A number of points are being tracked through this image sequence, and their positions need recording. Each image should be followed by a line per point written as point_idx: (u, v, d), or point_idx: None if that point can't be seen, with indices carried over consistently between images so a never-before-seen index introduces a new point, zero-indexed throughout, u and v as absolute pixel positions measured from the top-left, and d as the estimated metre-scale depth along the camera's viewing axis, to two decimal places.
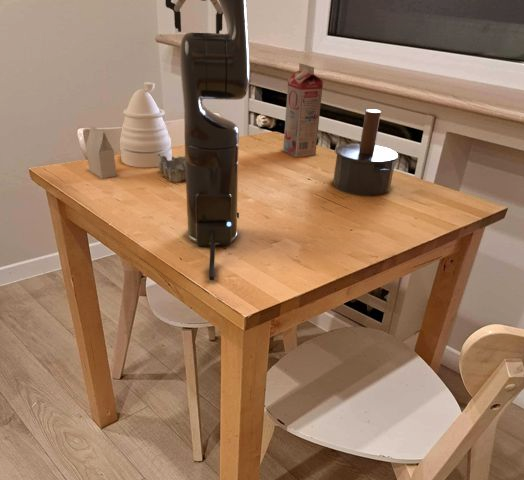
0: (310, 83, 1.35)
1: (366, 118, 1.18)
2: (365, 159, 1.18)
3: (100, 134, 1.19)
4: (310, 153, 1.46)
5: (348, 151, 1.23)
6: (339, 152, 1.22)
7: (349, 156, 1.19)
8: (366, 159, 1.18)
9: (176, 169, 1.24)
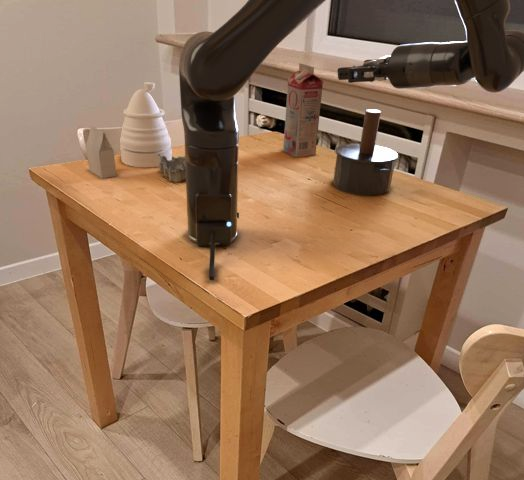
0: (310, 83, 1.35)
1: (366, 118, 1.18)
2: (365, 159, 1.18)
3: (100, 134, 1.19)
4: (310, 153, 1.46)
5: (348, 151, 1.23)
6: (339, 152, 1.22)
7: (349, 156, 1.19)
8: (366, 159, 1.18)
9: (176, 169, 1.24)
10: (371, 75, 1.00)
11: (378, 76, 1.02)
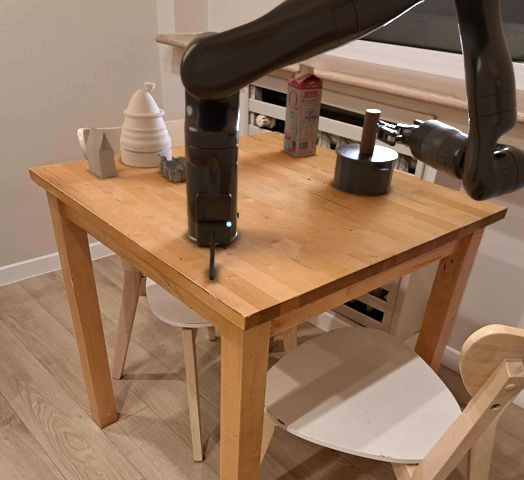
0: (310, 83, 1.35)
1: (366, 118, 1.18)
2: (365, 159, 1.18)
3: (100, 134, 1.19)
4: (310, 153, 1.46)
5: (348, 151, 1.23)
6: (339, 152, 1.22)
7: (349, 156, 1.19)
8: (366, 159, 1.18)
9: (176, 169, 1.24)
10: (392, 140, 1.01)
11: (402, 142, 1.02)
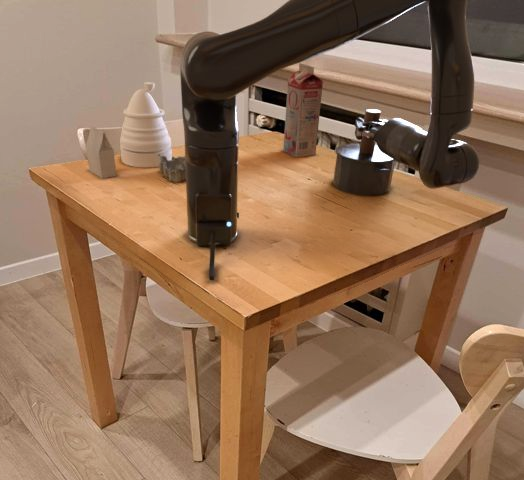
0: (310, 83, 1.35)
1: (366, 118, 1.18)
2: (365, 159, 1.18)
3: (100, 134, 1.19)
4: (310, 153, 1.46)
5: (348, 151, 1.23)
6: (339, 152, 1.22)
7: (349, 156, 1.19)
8: (366, 159, 1.18)
9: (176, 169, 1.24)
10: (358, 134, 1.13)
11: (370, 138, 1.13)
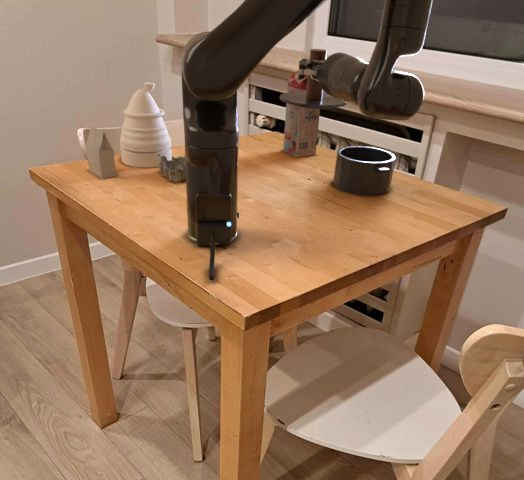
0: None
1: (311, 58, 1.07)
2: (310, 103, 1.07)
3: (100, 134, 1.19)
4: (310, 153, 1.46)
5: (294, 97, 1.12)
6: (283, 97, 1.11)
7: (293, 101, 1.08)
8: (311, 103, 1.07)
9: (176, 169, 1.24)
10: (299, 72, 1.02)
11: (313, 77, 1.02)
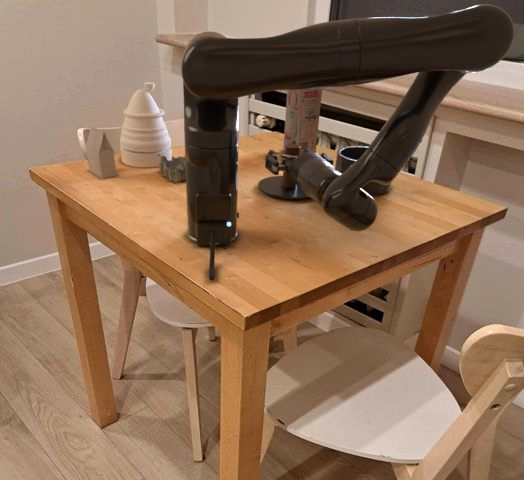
0: None
1: (285, 153, 1.17)
2: (284, 194, 1.17)
3: (100, 134, 1.19)
4: None
5: (270, 185, 1.22)
6: (261, 186, 1.21)
7: (269, 191, 1.18)
8: (285, 194, 1.17)
9: (176, 169, 1.24)
10: (274, 169, 1.10)
11: (285, 171, 1.11)
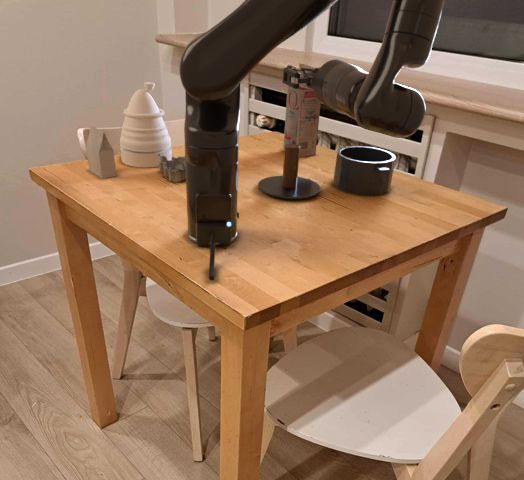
0: None
1: (285, 153, 1.17)
2: (284, 194, 1.17)
3: (100, 134, 1.19)
4: (310, 153, 1.46)
5: (270, 185, 1.22)
6: (261, 186, 1.21)
7: (269, 191, 1.18)
8: (285, 194, 1.17)
9: (176, 169, 1.24)
10: (295, 82, 0.94)
11: (307, 85, 0.95)
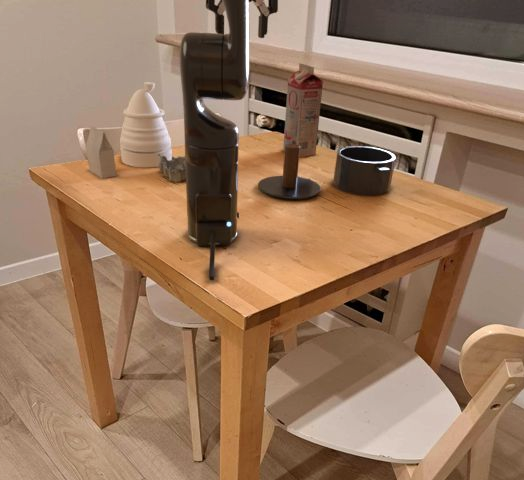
0: (310, 83, 1.35)
1: (285, 153, 1.17)
2: (284, 194, 1.17)
3: (100, 134, 1.19)
4: (310, 153, 1.46)
5: (270, 185, 1.22)
6: (261, 186, 1.21)
7: (269, 191, 1.18)
8: (285, 194, 1.17)
9: (176, 169, 1.24)
10: None
11: None
